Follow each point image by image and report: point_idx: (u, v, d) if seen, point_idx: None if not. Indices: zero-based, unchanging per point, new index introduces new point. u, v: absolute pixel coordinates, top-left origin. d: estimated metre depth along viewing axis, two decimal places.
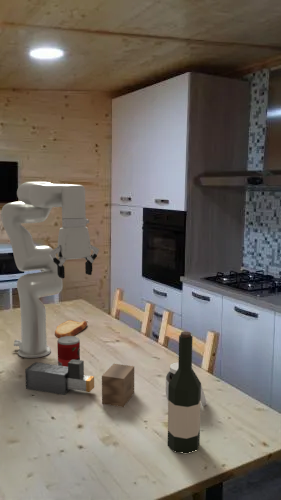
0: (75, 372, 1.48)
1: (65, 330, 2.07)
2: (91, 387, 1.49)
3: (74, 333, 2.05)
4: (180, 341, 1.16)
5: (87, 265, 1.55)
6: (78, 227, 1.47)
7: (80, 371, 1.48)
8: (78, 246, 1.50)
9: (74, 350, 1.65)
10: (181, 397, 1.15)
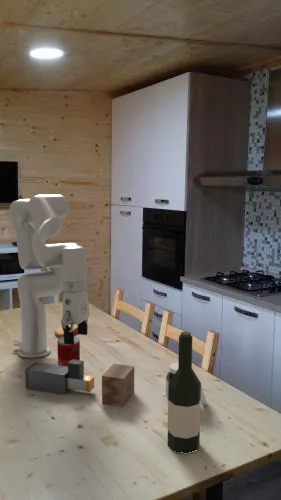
0: (75, 372, 1.48)
1: None
2: (91, 387, 1.49)
3: (74, 333, 2.05)
4: (180, 341, 1.16)
5: None
6: None
7: (80, 371, 1.48)
8: None
9: (74, 350, 1.65)
10: (181, 397, 1.15)
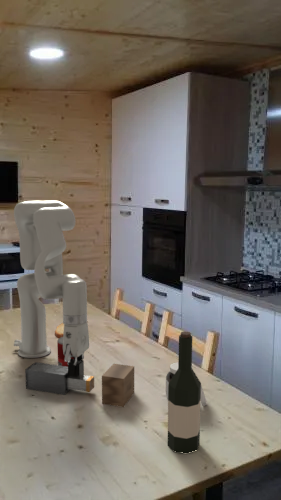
0: None
1: None
2: (91, 387, 1.49)
3: None
4: (180, 341, 1.16)
5: None
6: None
7: (80, 371, 1.48)
8: None
9: None
10: (181, 397, 1.15)
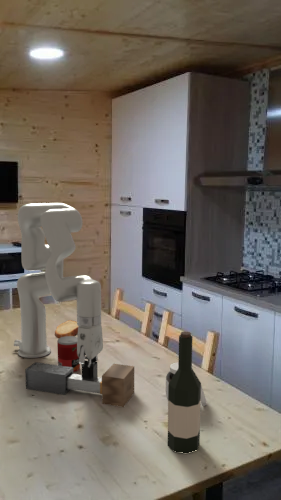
0: None
1: (65, 330, 2.07)
2: None
3: (74, 333, 2.05)
4: (180, 341, 1.16)
5: None
6: None
7: (94, 373, 1.47)
8: None
9: (74, 350, 1.65)
10: (181, 397, 1.15)
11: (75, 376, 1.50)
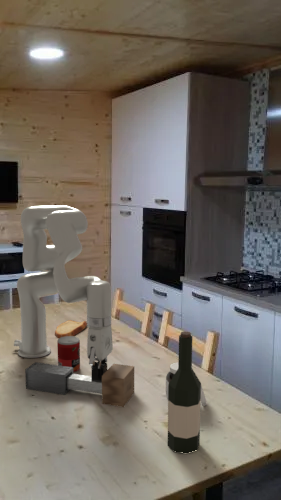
0: None
1: (65, 330, 2.07)
2: None
3: (74, 333, 2.05)
4: (180, 341, 1.16)
5: None
6: None
7: None
8: None
9: (74, 350, 1.65)
10: (181, 397, 1.15)
11: (85, 377, 1.49)
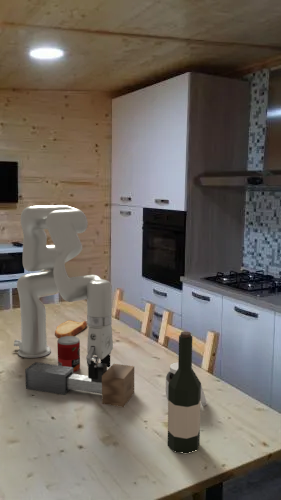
0: (99, 375, 1.46)
1: (65, 330, 2.07)
2: None
3: (74, 333, 2.05)
4: (180, 341, 1.16)
5: None
6: None
7: None
8: None
9: (74, 350, 1.65)
10: (181, 397, 1.15)
11: (84, 377, 1.49)
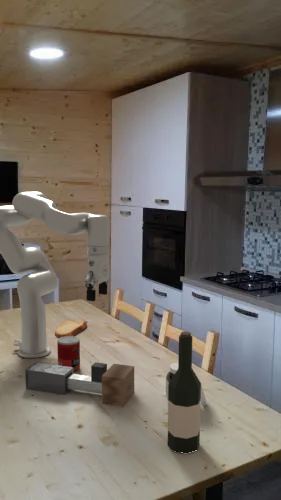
0: (99, 375, 1.46)
1: (65, 330, 2.07)
2: None
3: (74, 333, 2.05)
4: (180, 341, 1.16)
5: None
6: None
7: None
8: None
9: (74, 350, 1.65)
10: (181, 397, 1.15)
11: (84, 377, 1.49)
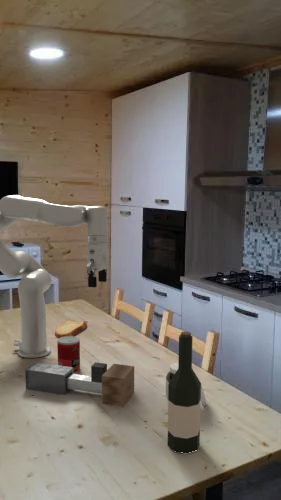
0: (99, 375, 1.46)
1: (65, 330, 2.07)
2: None
3: (74, 333, 2.05)
4: (180, 341, 1.16)
5: None
6: None
7: None
8: None
9: (74, 350, 1.65)
10: (181, 397, 1.15)
11: (84, 377, 1.49)
